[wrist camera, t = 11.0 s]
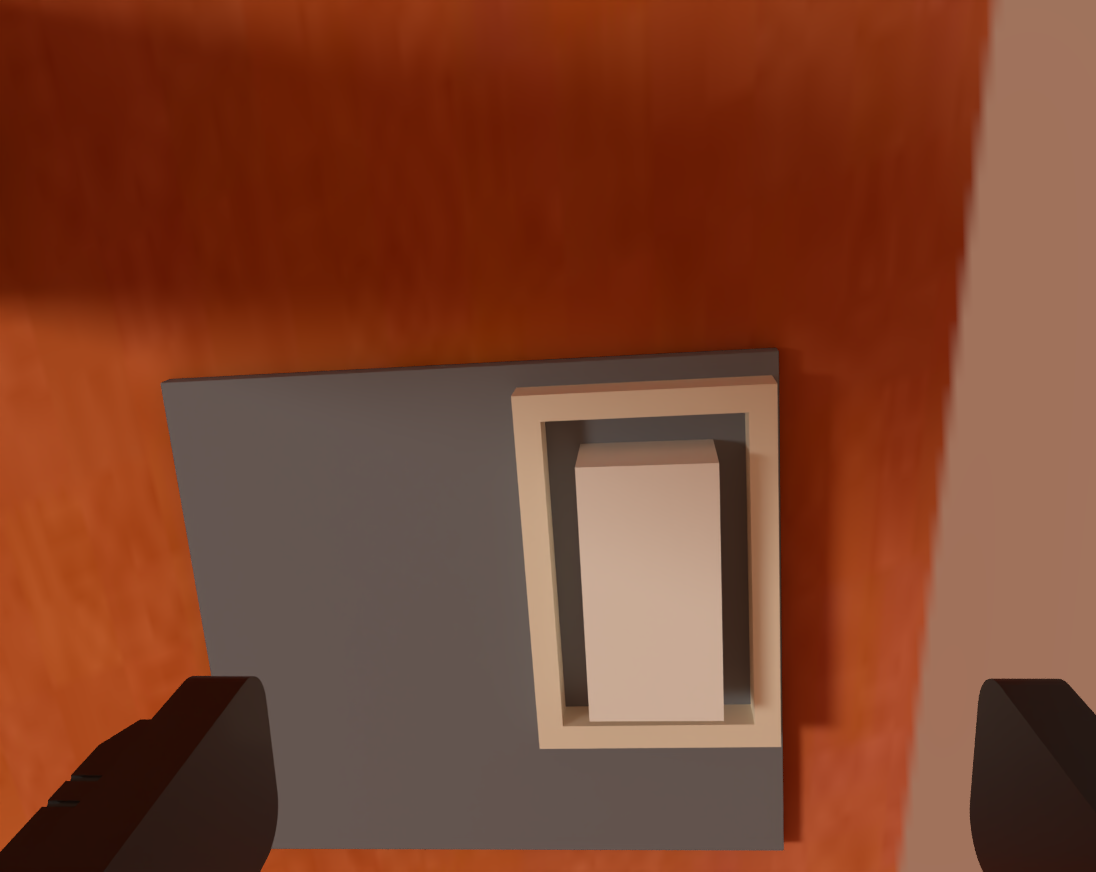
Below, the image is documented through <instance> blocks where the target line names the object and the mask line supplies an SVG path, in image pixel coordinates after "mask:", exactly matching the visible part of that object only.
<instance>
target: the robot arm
mask: <svg viewBox="0 0 1096 872" xmlns="http://www.w3.org/2000/svg"><path fill="white" fill-rule="evenodd" d="M972 773H973V774H972V785H971V798H970V823H971V831H972V838H973V843H974V847H975V851H976V855H977V858H978V861H979V863H980V866H981V868H982V870H983V872H1096V715H1095V714H1094V712H1093V711H1092V710H1091V709H1090V708H1089V707H1088V706H1087V705H1086V704H1085V702H1084V701H1083V700H1082V699H1081V698H1080V697H1079V696H1078V695H1077V693H1076V692H1075V691H1074V690H1073V689H1072V688H1071V687H1070V685H1069V684H1067V683H1066V682H1065V681H1063V680H1062V679H988V680H986V681H985V682H984V684H983V685H982V687H981V690H980V695H979V701H978V712H977V723H976V736H975V748H974V760H973V772H972ZM277 819H278V791H277V783H276V775H275V767H274V758H273V750H272V742H271V734H270V725H269V717H268V709H267V700H266V694H265V690H264V687H263V684H262V682H261V681H260V679H259V678H258V677H255V676H191V677H189V678H187V679H186V680H185V681H184V682H183V684H182V685H181V686H180V687H179V688H178V689H177V690H176V692H175V693H174V694H173V695H172V696H171V697H170V698H169V700H168V701H167V702H166V703H165V704H164V705H163V707H162V708H161V709H160V710H159V711H158V712H157V713H156V715H155V716H154V717H153V718H152V719H151V720H139V721H137V722H135V723H134V724H132V725H131V726H129V727H127V728H126V729H124V730H123V731H121V732H119V733H118V734H116V735H114V736H113V737H111V738H110V739H108V740H106V741H105V742H103V743H101V744H100V745H99V746H98V747H97V748H96V749H95V750H94V751H93V752H92V753H91V754H90V755H89V756H88V757H87V759H86V760H85V761H84V762H83V763H82V764H81V765H80V766H79V767H78V768H77V769H76V770H75V772H74V773H73V774H72V775H71V781H65V782H64V783H63V785H62V786H61V787H60V788H59V789H58V790H57V791H56V792H55V793H54V794H53V795H52V797H51V798H50V799H49V800H48V805H47V807H41V808H40V810H39V811H38V812H37V813H36V814H35V815H34V816H33V817H32V818H31V819H30V820H29V821H28V823H27V824H26V825H25V826H24V827H23V828H22V829H21V830H20V831H19V832H18V833H17V834H16V836H15V837H14V838H13V839H12V840H11V841H10V842H9V843H8V844H7V845H6V846H5V847H4V849H3V850H2V851H1V852H0V872H260V871H261V869H262V867H263V865H264V863H265V861H266V859H267V857H268V855H269V853H270V850H271V847H272V844H273V841H274V837H275V832H276V826H277Z"/></svg>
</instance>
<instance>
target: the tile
mask: <svg viewBox="0 0 1096 872" xmlns="http://www.w3.org/2000/svg"><path fill="white" fill-rule="evenodd" d="M575 479H576V496H577V513H578V530H579V548H580V565H581V582H582V600H583V617H584V634H585V651H586V669H587V686H588V703H589V721H590V722H602V721H724V696H723V642H722V588H721V534H720V480H719V460H718V456H717V453H716V449H715V445H714V441H713V439H704V440H675V441H647V442H618V443H590V444H580V448H579V452H578V456H577V461H576V465H575Z"/></svg>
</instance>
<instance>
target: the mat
mask: <svg viewBox="0 0 1096 872" xmlns="http://www.w3.org/2000/svg"><path fill="white" fill-rule="evenodd" d="M161 388H162V394H163V400H164V406H165V411H166V417H167V423H168V429H169V434H170V440H171V446H172V452H173V457H174V463H175V469H176V475H177V480H178V486H179V492H180V498H181V503H182V509H183V515H184V521H185V526H186V532H187V538H188V543H189V549H190V555H191V561H192V566H193V572H194V578H195V584H196V589H197V595H198V601H199V607H200V612H201V618H202V624H203V630H204V635H205V641H206V647H207V653H208V658H209V664H210V670H211V676H255V677H258V678H259V679H260V681H261V682H262V684H263V687H264V690H265V694H266V700H267V709H268V717H269V725H270V734H271V742H272V750H273V758H274V767H275V775H276V783H277V791H278V819H277V826H276V832H275V837H274V841H273V844H272V847H271V849H532V850H784V836H783V734H782V632H781V530H780V429H779V351H778V350H777V348H761V349H741V350H722V351H703V352H684V353H664V354H645V355H626V356H606V357H587V358H568V359H548V360H529V361H510V362H491V363H471V364H452V365H433V366H413V367H394V368H375V369H356V370H336V371H317V372H298V373H278V374H259V375H240V376H220V377H201V378H182V379H169V380H166V381H164V382H162V383H161ZM704 439H713V441H714V445H715V449H716V453H717V456H718V460H719V480H720V534H721V588H722V642H723V696H724V721H602V722H590V721H589V703H588V686H587V669H586V651H585V634H584V617H583V600H582V582H581V565H580V548H579V530H578V513H577V496H576V479H575V465H576V461H577V456H578V452H579V448H580V444H590V443H618V442H647V441H675V440H704Z"/></svg>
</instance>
